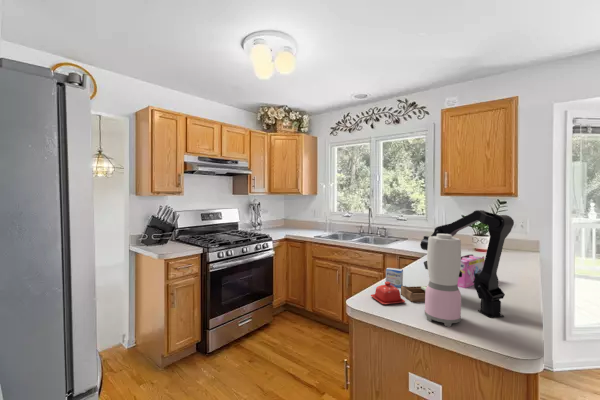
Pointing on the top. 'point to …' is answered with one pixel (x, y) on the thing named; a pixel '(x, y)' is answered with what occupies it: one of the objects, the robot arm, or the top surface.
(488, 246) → the robot arm
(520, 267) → the top surface
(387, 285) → the butter dish
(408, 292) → the walnut box
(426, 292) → the blender
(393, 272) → the medicine box
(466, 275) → the gum box
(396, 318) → the top surface
